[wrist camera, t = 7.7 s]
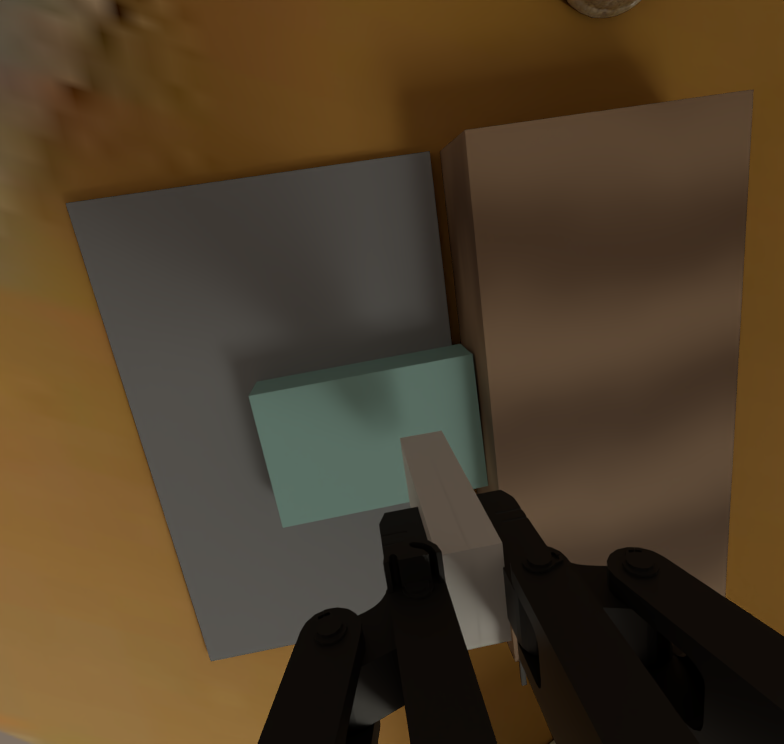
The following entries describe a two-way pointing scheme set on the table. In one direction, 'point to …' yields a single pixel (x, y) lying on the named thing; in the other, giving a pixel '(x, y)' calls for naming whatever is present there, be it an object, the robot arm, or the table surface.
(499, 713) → the table surface
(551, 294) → the brown wooden slab
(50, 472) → the table surface
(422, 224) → the mat
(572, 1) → the sprinkles bottle
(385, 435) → the rectangular block
